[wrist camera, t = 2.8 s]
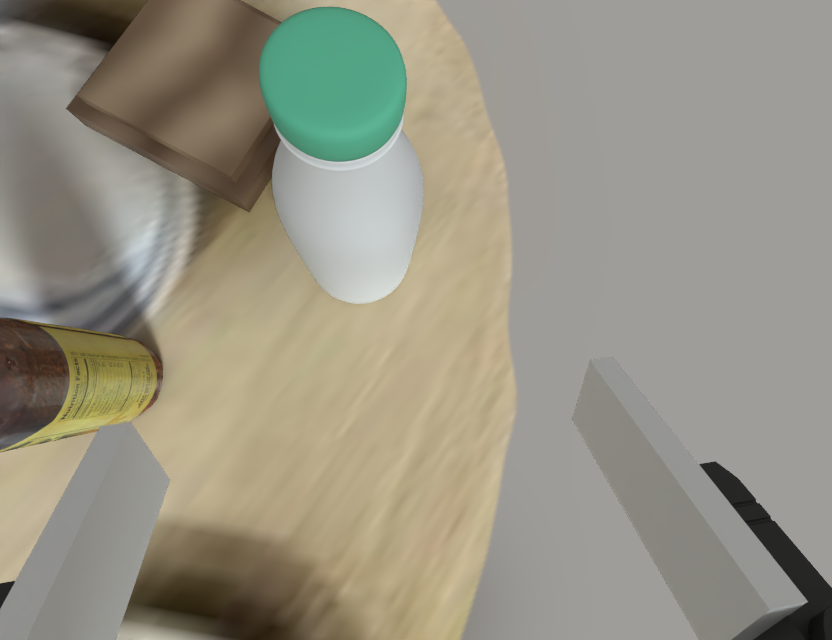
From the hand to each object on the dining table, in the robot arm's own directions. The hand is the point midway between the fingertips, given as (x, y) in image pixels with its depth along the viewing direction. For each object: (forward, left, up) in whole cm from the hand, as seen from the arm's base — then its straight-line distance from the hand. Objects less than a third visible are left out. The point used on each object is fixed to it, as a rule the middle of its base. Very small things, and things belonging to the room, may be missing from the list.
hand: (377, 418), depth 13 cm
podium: (-22, +15, -19) cm, 33 cm away
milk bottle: (-6, +9, -19) cm, 22 cm away
